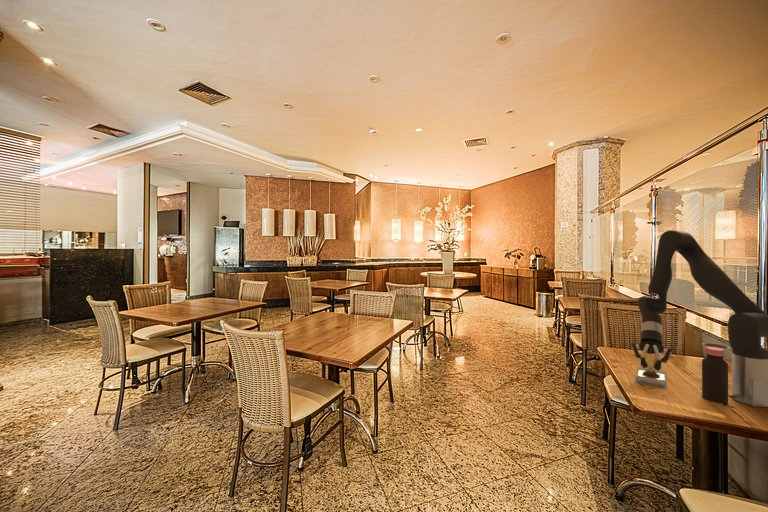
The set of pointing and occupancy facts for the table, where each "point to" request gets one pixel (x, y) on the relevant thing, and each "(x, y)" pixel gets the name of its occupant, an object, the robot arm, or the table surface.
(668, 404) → the table surface
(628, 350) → the table surface
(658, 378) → the collar
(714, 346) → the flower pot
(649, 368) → the pin
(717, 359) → the bottle
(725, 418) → the table surface
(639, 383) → the grey base plate
